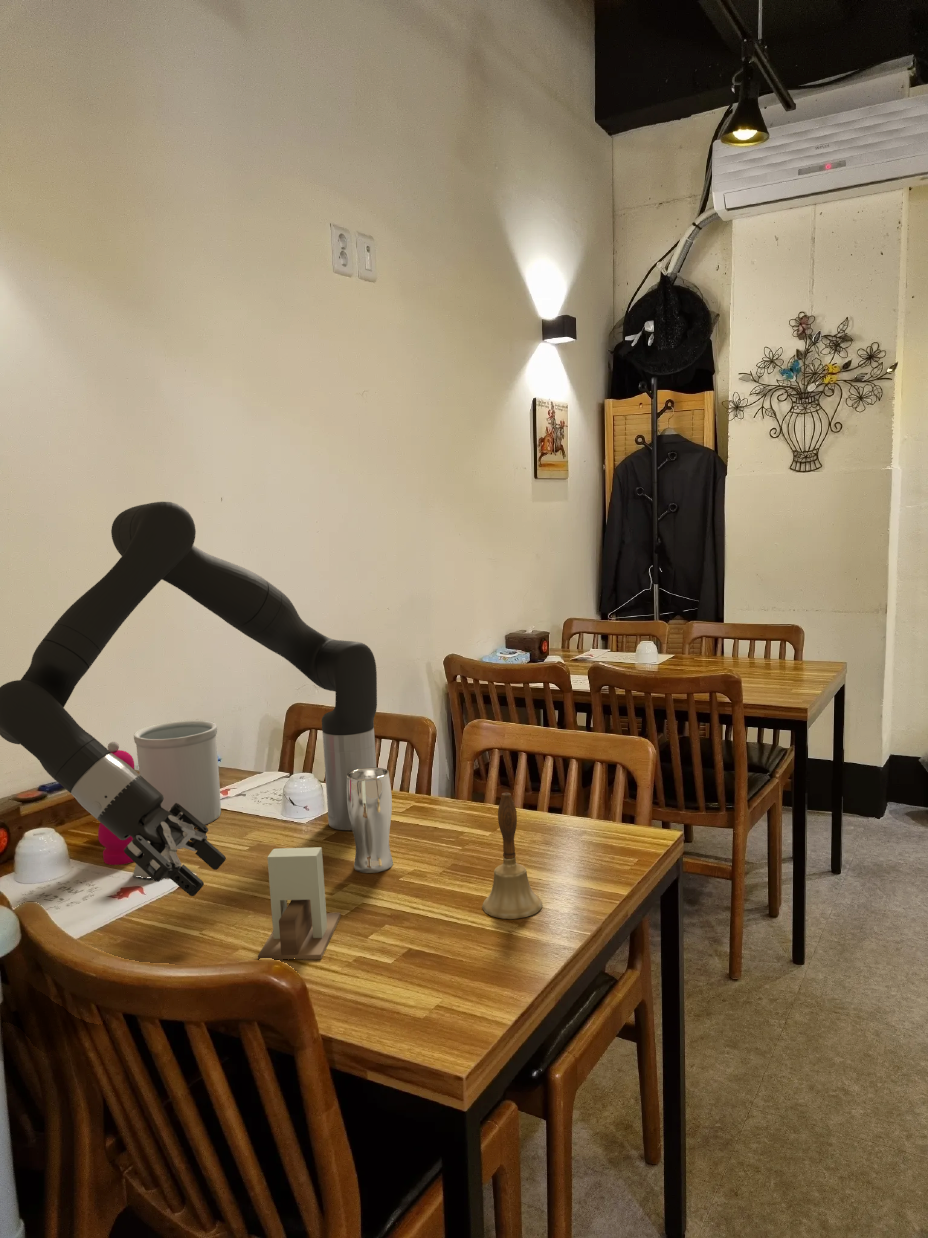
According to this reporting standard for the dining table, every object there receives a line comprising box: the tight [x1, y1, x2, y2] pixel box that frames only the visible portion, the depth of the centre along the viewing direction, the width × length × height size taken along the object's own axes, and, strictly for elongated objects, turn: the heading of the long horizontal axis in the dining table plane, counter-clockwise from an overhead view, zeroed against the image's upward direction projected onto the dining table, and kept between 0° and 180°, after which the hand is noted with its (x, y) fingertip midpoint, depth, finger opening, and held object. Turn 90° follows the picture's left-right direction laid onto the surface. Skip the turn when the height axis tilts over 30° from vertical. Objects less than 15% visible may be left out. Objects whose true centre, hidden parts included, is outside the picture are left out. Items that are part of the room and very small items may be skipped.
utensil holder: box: [133, 719, 222, 828], centre depth 168 cm, size 15×15×18 cm
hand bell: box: [481, 792, 543, 920], centre depth 123 cm, size 8×8×16 cm
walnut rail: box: [257, 900, 342, 961], centre depth 117 cm, size 12×8×5 cm, turn 176°
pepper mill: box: [97, 741, 135, 866], centre depth 149 cm, size 7×7×20 cm
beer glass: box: [347, 767, 394, 874], centre depth 140 cm, size 7×7×15 cm
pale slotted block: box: [267, 846, 327, 939], centre depth 116 cm, size 6×3×11 cm, turn 87°
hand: (210, 877), depth 117 cm, fingers open, 8 cm apart
